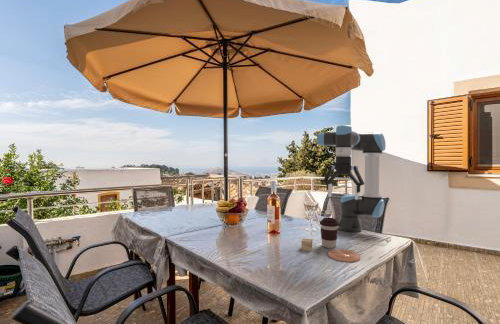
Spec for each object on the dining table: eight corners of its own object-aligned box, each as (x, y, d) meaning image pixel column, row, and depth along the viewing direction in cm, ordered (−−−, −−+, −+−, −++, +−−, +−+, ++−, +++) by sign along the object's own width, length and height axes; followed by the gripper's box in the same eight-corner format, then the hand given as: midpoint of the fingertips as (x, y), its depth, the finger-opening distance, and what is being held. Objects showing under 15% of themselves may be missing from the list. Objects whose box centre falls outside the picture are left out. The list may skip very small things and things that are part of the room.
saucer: (335, 249, 146) (335, 247, 146) (364, 255, 136) (364, 253, 136) (323, 256, 134) (323, 254, 134) (354, 264, 124) (354, 262, 124)
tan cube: (302, 247, 149) (302, 238, 148) (312, 248, 147) (312, 238, 147) (301, 250, 144) (301, 240, 144) (311, 251, 142) (311, 241, 142)
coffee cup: (325, 249, 144) (325, 221, 144) (316, 244, 154) (316, 217, 154) (342, 248, 147) (342, 220, 147) (331, 242, 156) (332, 216, 156)
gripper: (317, 155, 145) (316, 196, 145) (366, 156, 129) (366, 201, 129) (323, 156, 151) (322, 194, 151) (371, 156, 135) (370, 199, 135)
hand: (342, 197), depth 140 cm, fingers open, 13 cm apart
